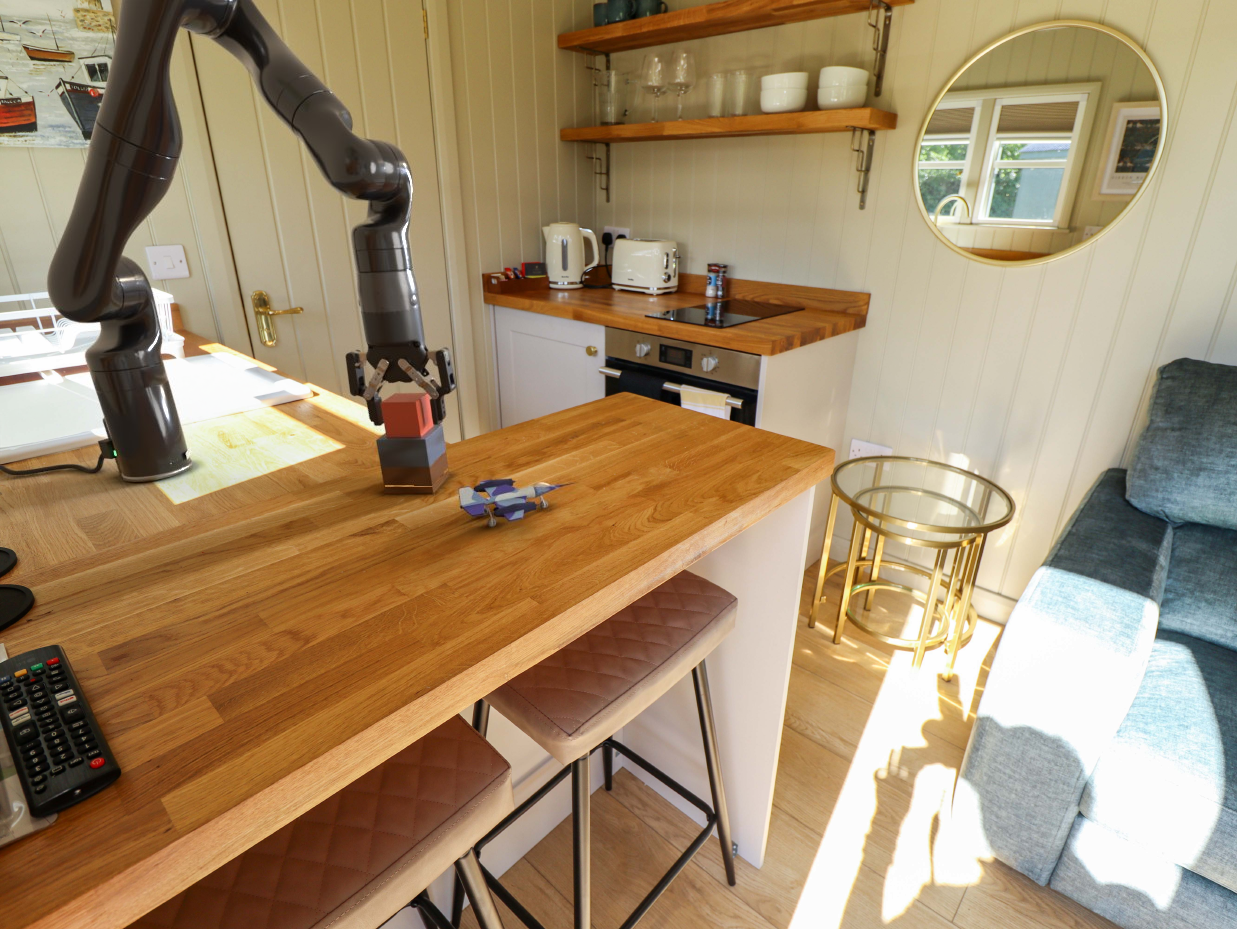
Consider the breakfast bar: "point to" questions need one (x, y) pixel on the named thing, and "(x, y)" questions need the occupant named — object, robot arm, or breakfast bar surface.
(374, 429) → the breakfast bar surface
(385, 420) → the toy block
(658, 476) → the breakfast bar surface
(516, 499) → the toy airplane
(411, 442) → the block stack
